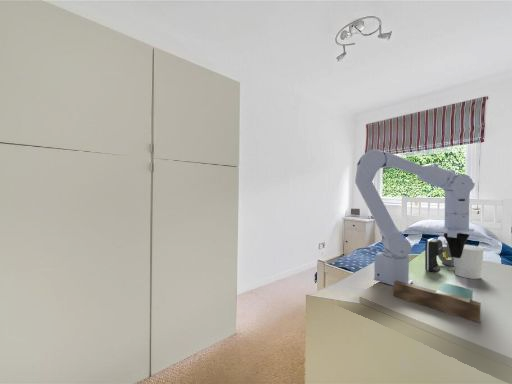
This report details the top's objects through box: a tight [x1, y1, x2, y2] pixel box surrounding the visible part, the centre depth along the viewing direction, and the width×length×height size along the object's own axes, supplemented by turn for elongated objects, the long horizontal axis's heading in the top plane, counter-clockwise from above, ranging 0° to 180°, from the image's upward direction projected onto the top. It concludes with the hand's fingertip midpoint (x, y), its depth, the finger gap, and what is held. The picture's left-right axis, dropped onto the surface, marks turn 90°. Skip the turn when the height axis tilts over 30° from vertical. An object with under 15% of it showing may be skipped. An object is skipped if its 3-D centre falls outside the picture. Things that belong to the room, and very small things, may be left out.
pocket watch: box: [437, 240, 455, 267], centre depth 92 cm, size 8×8×10 cm
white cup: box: [453, 244, 484, 280], centre depth 82 cm, size 8×8×10 cm
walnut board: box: [393, 280, 482, 323], centre depth 62 cm, size 18×2×4 cm, turn 42°
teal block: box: [438, 282, 474, 300], centre depth 62 cm, size 6×7×4 cm
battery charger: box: [424, 238, 444, 273], centre depth 87 cm, size 7×4×11 cm, turn 127°
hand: (456, 257), depth 73 cm, fingers closed
